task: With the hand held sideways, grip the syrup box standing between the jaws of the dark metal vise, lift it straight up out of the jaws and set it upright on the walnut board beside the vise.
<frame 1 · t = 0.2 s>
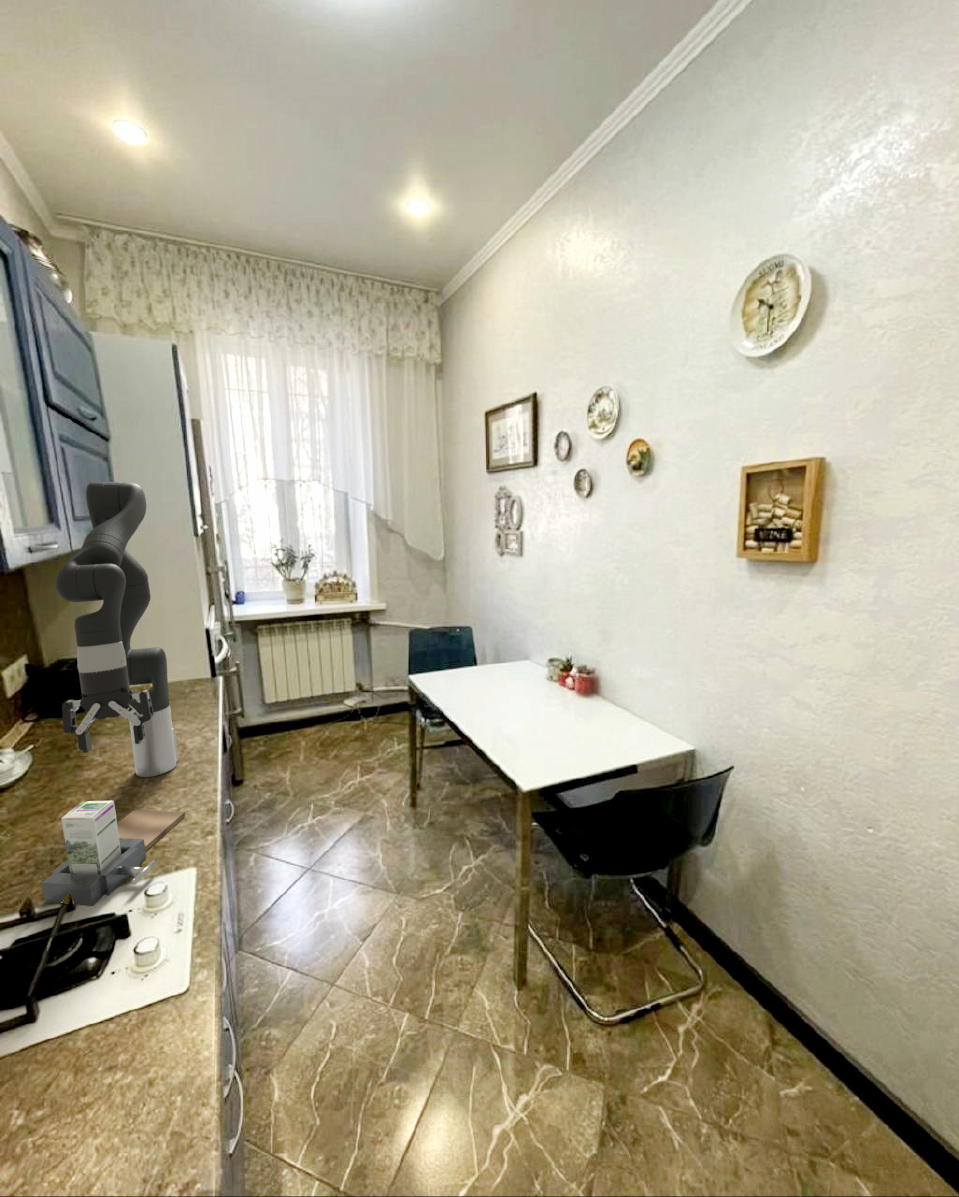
hand: (113, 747, 98), 22 cm above the worktop, tool pointing down, fingers open, 8 cm apart
syrup box: (98, 880, 93), resting in vise
walnut board: (139, 831, 107), on the worktop
vise: (98, 879, 93), on the worktop
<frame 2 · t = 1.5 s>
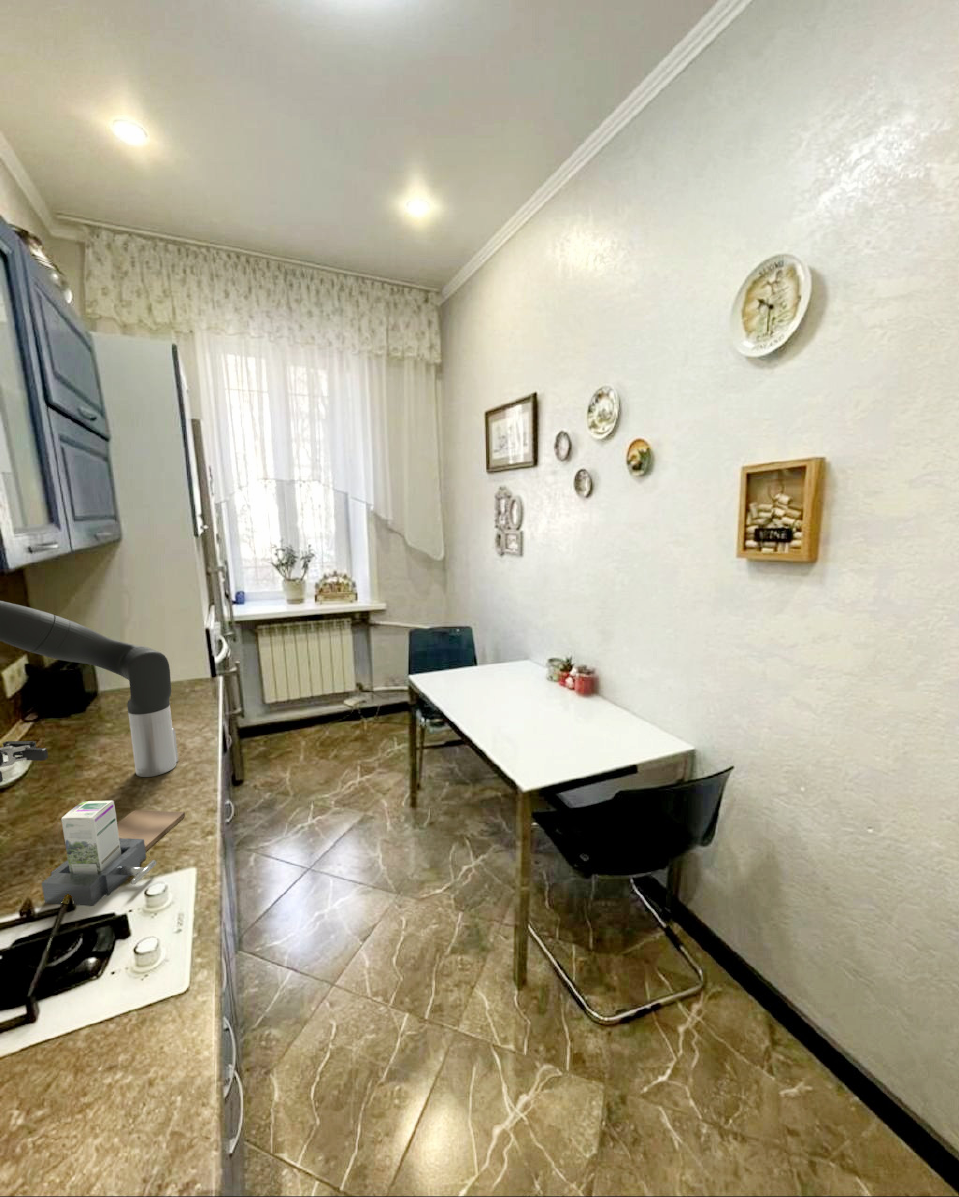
hand: (24, 765, 90), 22 cm above the worktop, tool horizontal, fingers open, 8 cm apart
nothing on the worktop moved.
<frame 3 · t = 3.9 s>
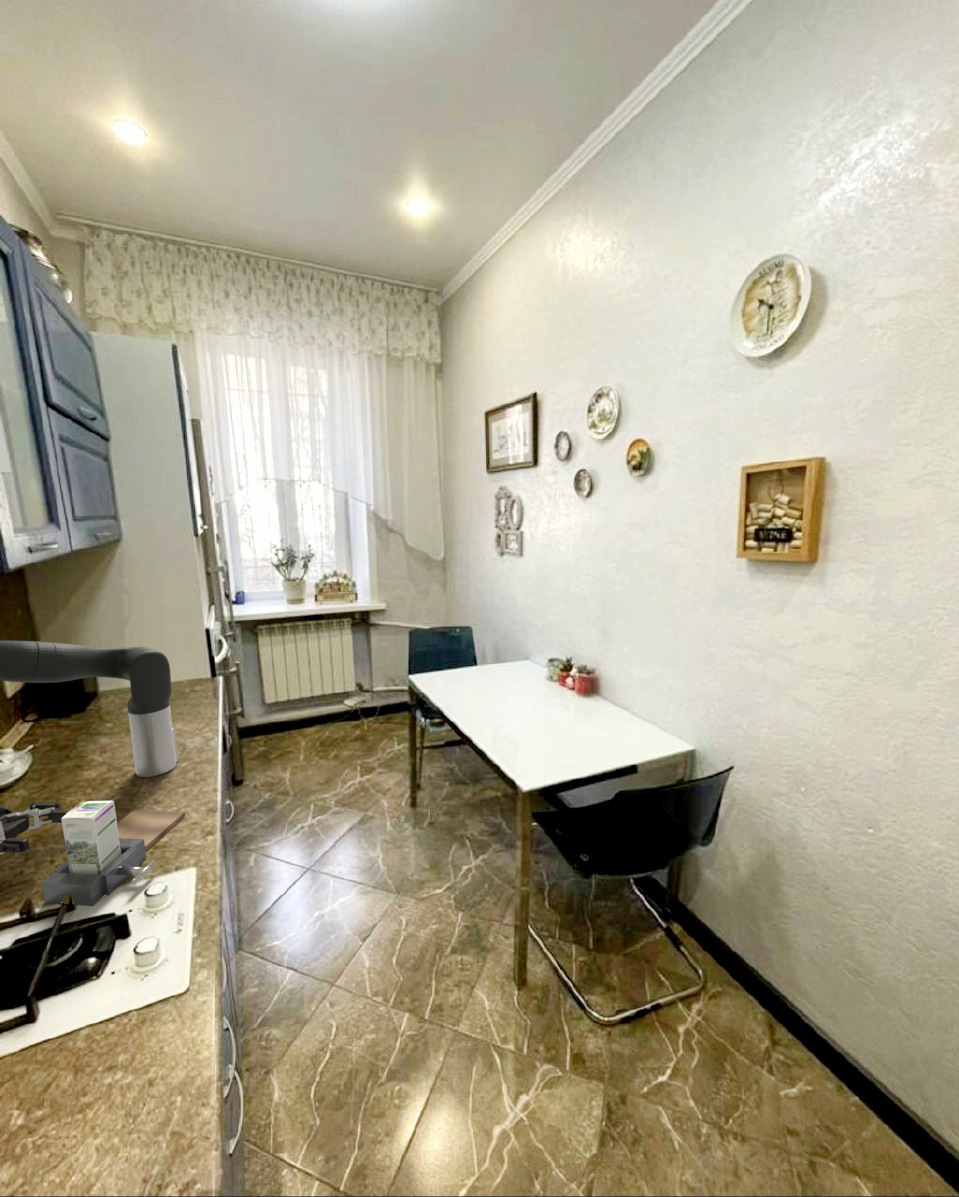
hand: (50, 830, 92), 10 cm above the worktop, tool horizontal, fingers open, 8 cm apart
nothing on the worktop moved.
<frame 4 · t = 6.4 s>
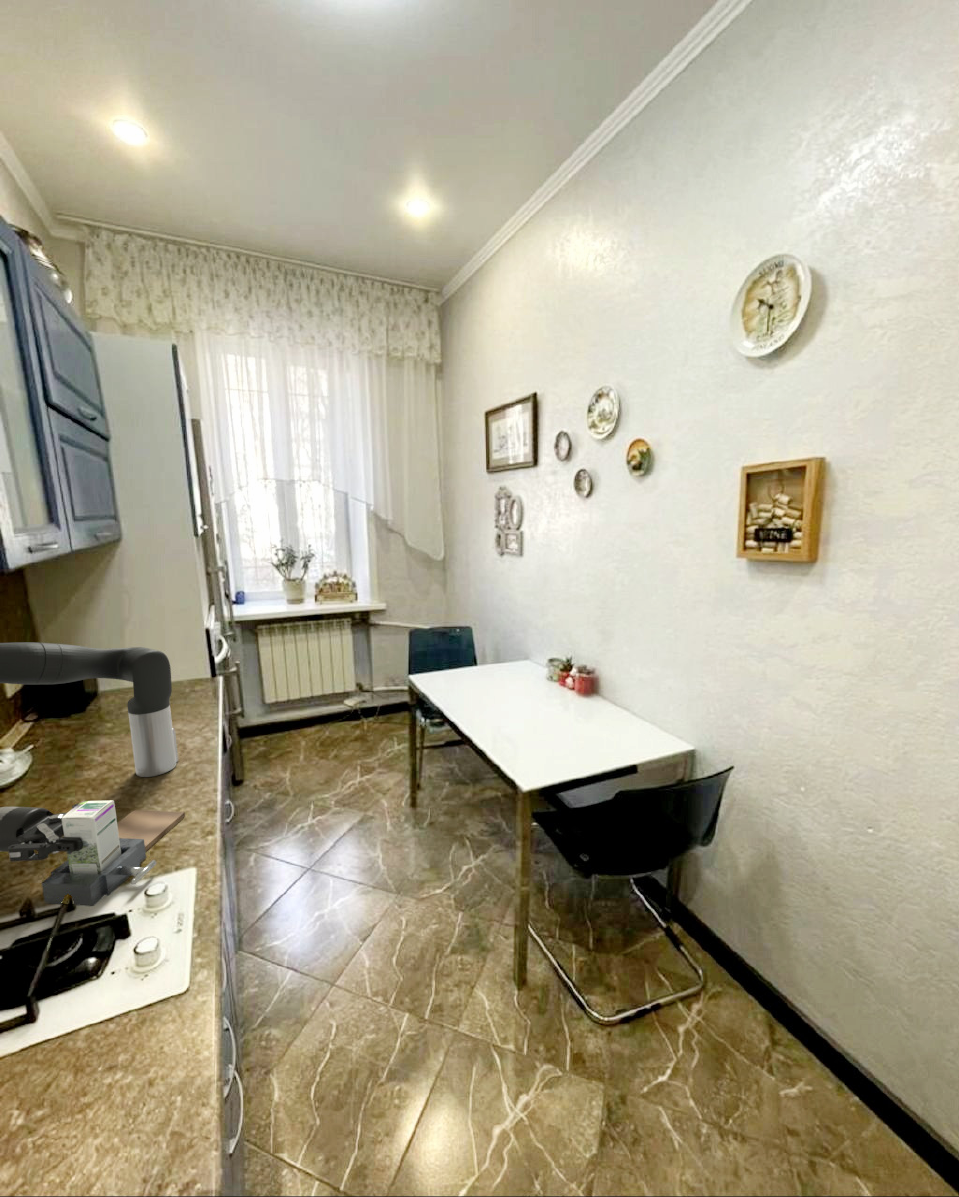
hand: (96, 832, 91), 10 cm above the worktop, tool horizontal, fingers closed on syrup box, 6 cm apart
syrup box: (98, 880, 93), resting in vise, touching gripper
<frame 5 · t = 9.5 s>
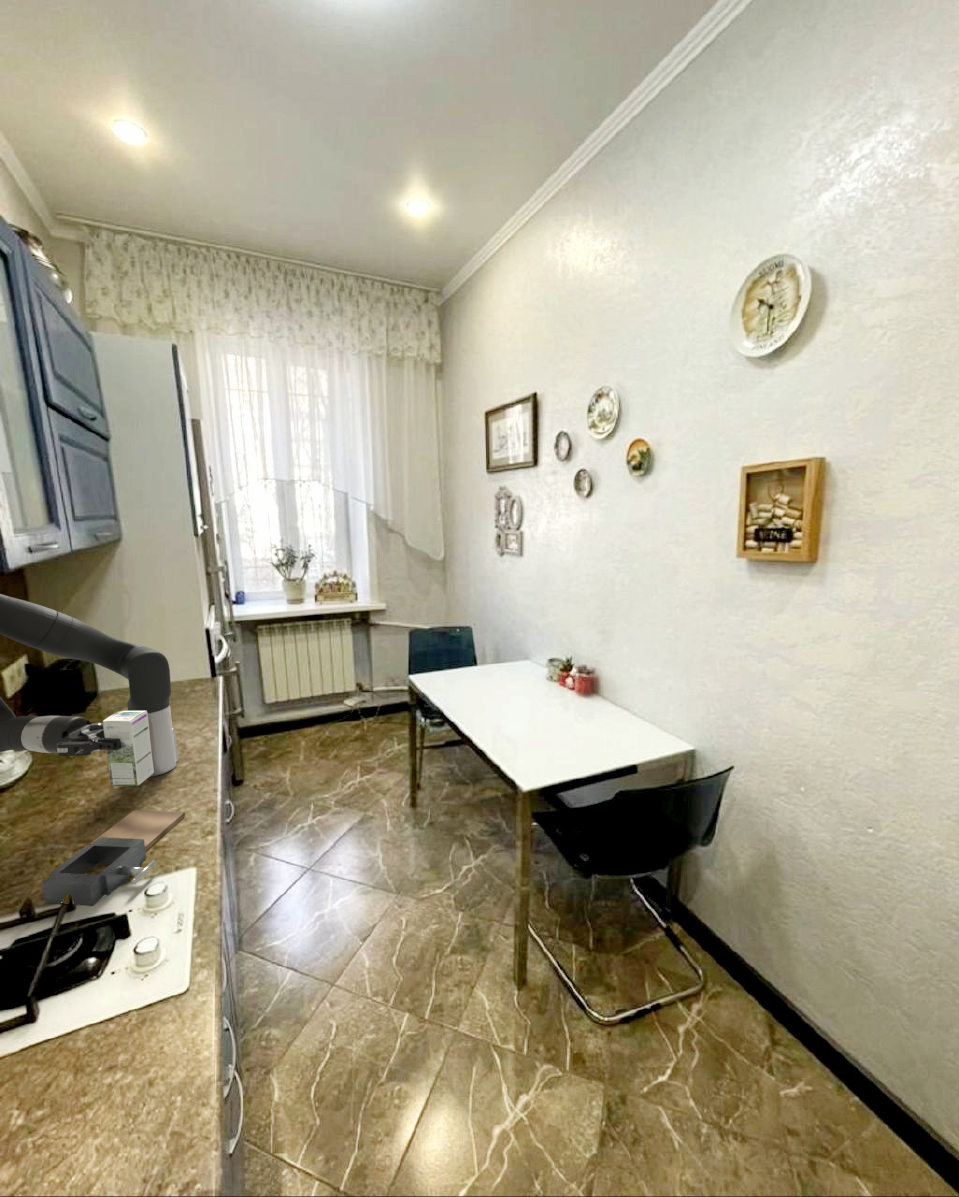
hand: (132, 737, 103), 22 cm above the worktop, tool horizontal, fingers closed on syrup box, 6 cm apart
syrup box: (132, 780, 105), point 12 cm above the worktop, touching gripper
when the fingers open (11 cm above the worktop, at t = 12.6 s): syrup box stays where it is, resting on walnut board.
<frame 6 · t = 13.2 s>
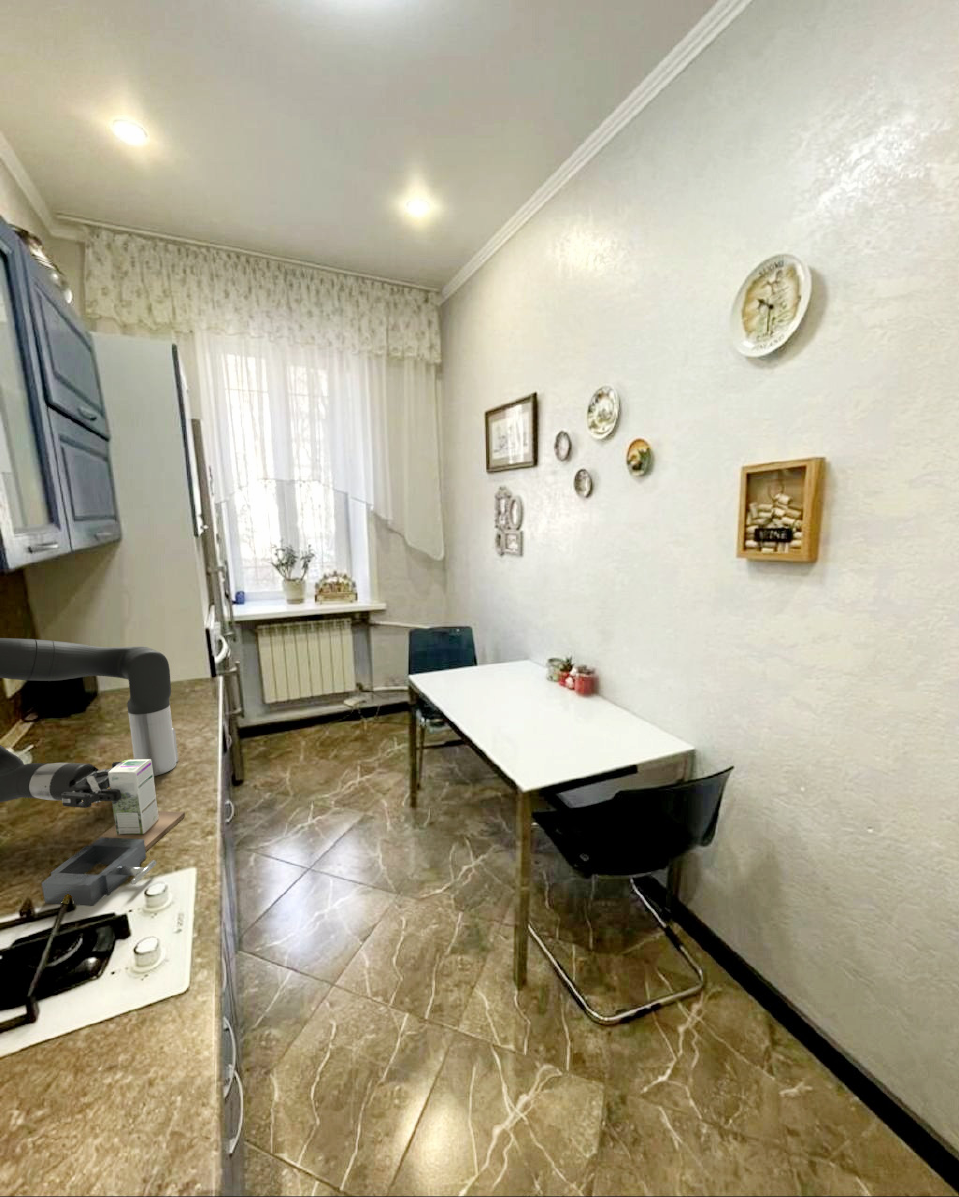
hand: (135, 784, 105), 11 cm above the worktop, tool horizontal, fingers open, 8 cm apart
syrup box: (138, 828, 106), point 1 cm above the worktop, touching walnut board
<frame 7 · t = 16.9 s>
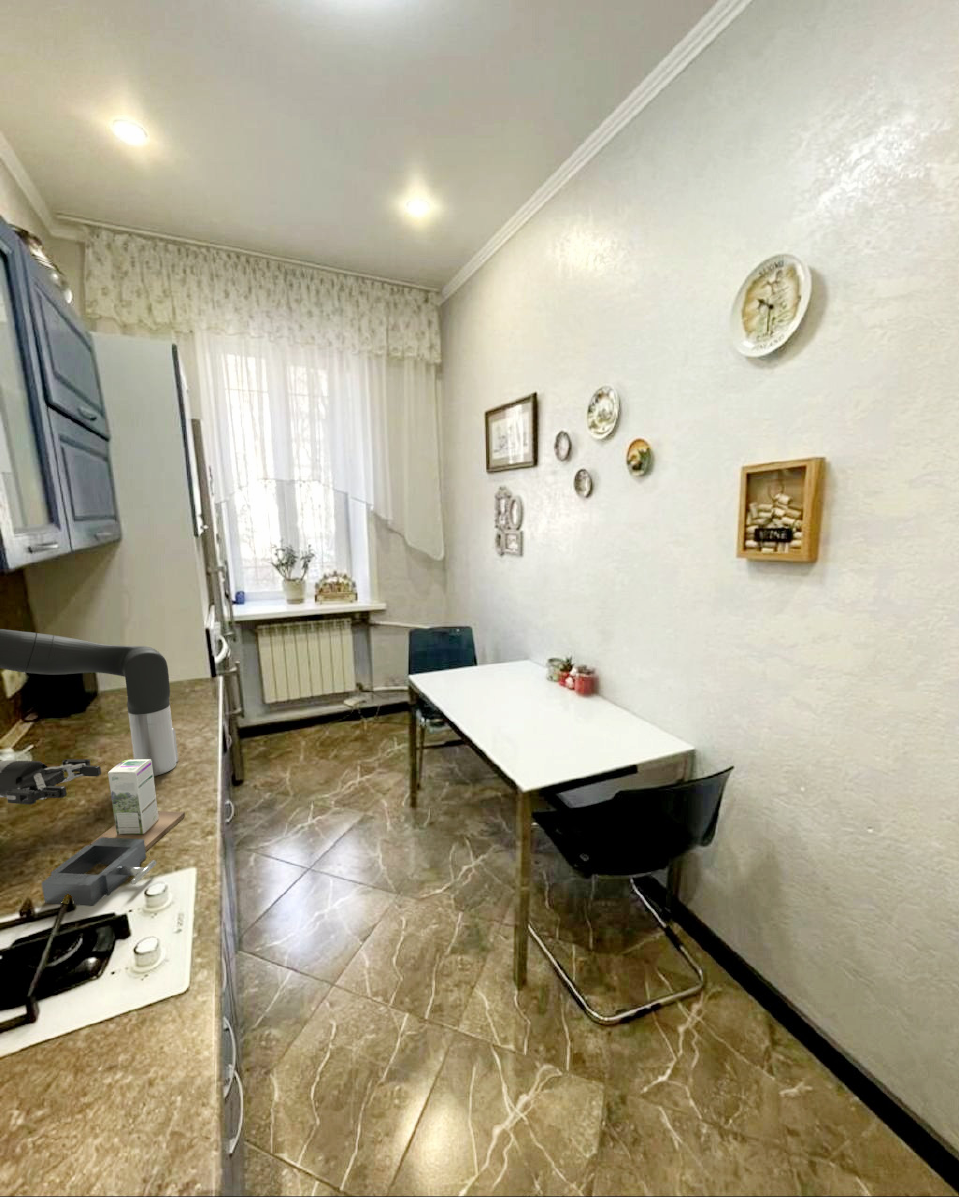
hand: (82, 781, 106), 11 cm above the worktop, tool horizontal, fingers open, 8 cm apart
nothing on the worktop moved.
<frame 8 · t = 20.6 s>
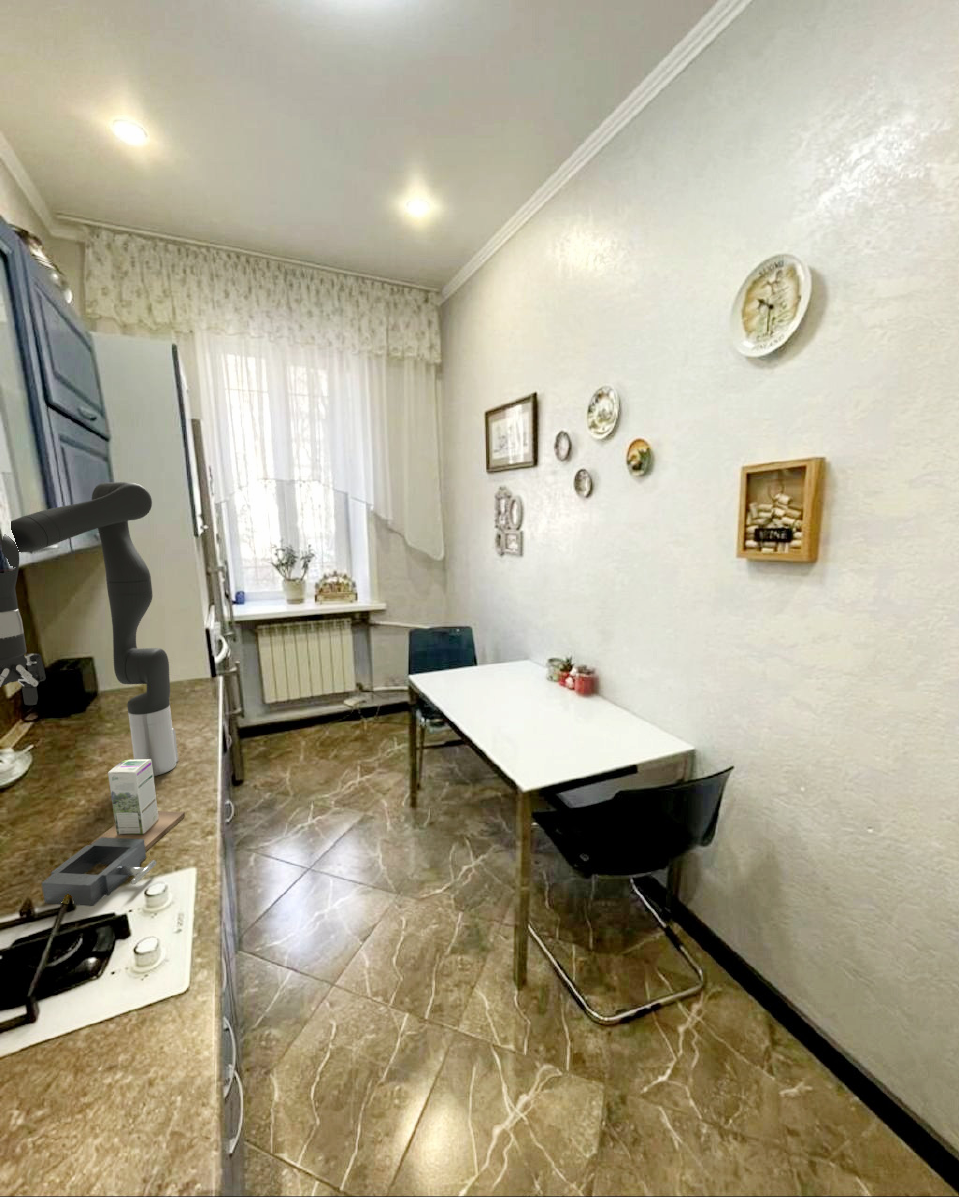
hand: (10, 712, 100), 28 cm above the worktop, tool pointing down, fingers open, 8 cm apart
nothing on the worktop moved.
at the end: syrup box inside the target area on the walnut board (0.2 cm from its centre), point 0.8 cm above the walnut board's base; syrup box tilted 0°; the gripper is holding nothing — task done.
